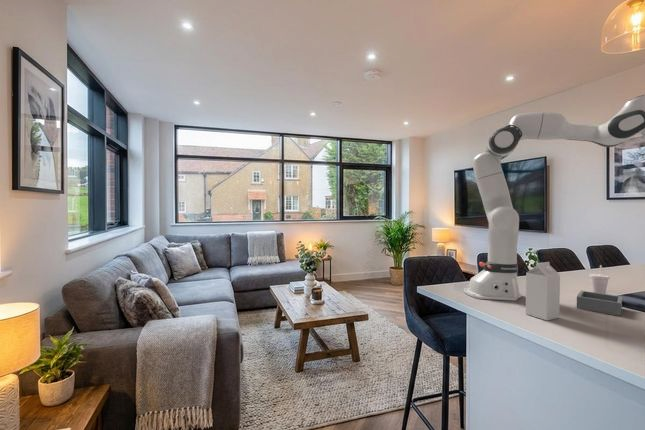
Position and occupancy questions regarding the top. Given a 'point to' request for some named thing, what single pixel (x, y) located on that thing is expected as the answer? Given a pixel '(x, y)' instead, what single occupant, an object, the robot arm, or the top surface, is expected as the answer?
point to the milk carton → (543, 292)
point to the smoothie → (599, 282)
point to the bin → (599, 302)
